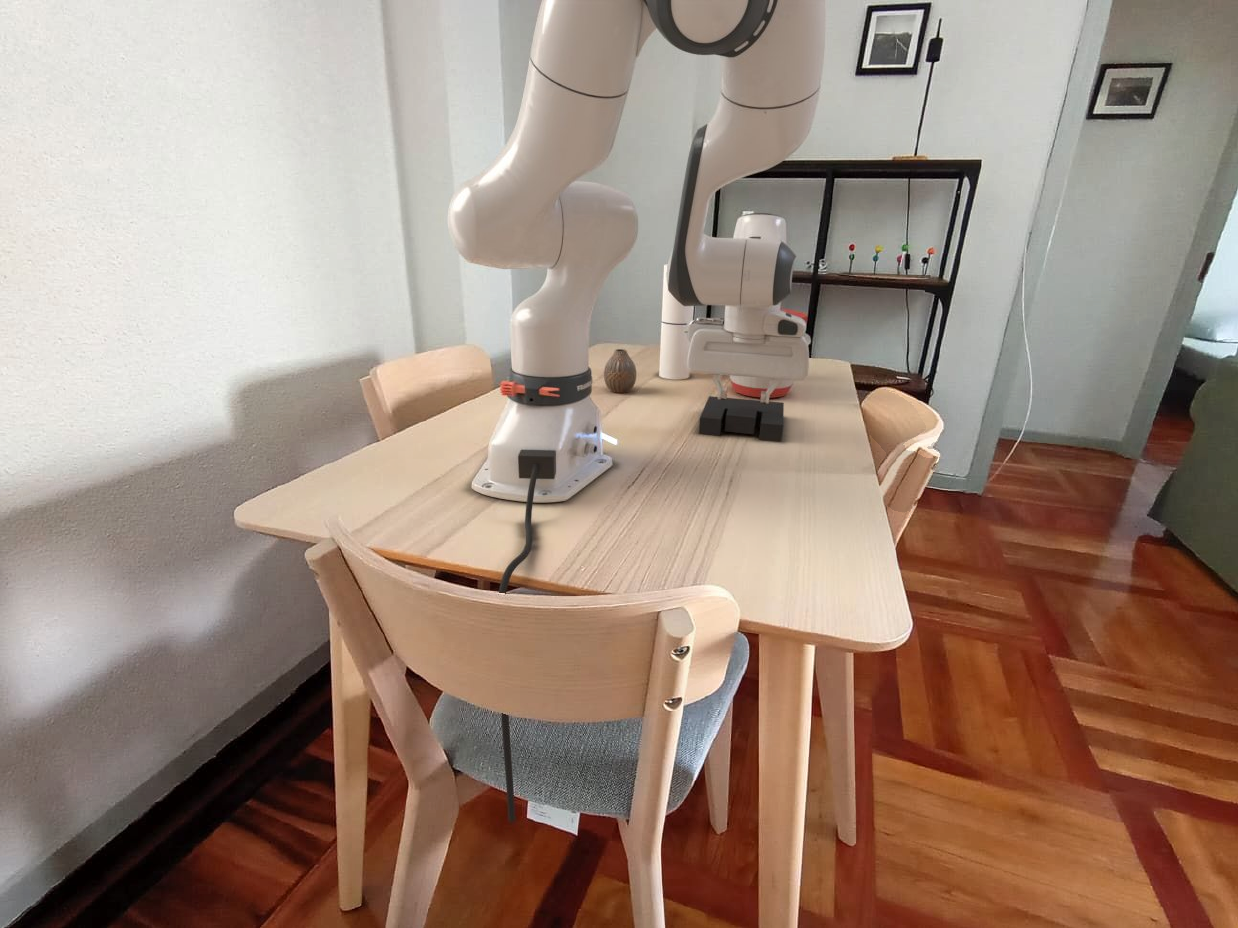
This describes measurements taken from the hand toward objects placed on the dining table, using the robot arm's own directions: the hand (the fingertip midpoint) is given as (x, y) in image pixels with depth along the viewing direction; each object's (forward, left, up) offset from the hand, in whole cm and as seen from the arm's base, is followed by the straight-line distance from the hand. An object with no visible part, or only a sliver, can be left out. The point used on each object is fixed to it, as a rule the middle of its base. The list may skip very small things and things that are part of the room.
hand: (743, 400), depth 106 cm
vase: (+19, +27, -6) cm, 34 cm away
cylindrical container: (+36, +18, -6) cm, 41 cm away
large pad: (+3, 0, -6) cm, 7 cm away
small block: (0, 0, -5) cm, 5 cm away
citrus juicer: (+27, -3, -6) cm, 28 cm away
